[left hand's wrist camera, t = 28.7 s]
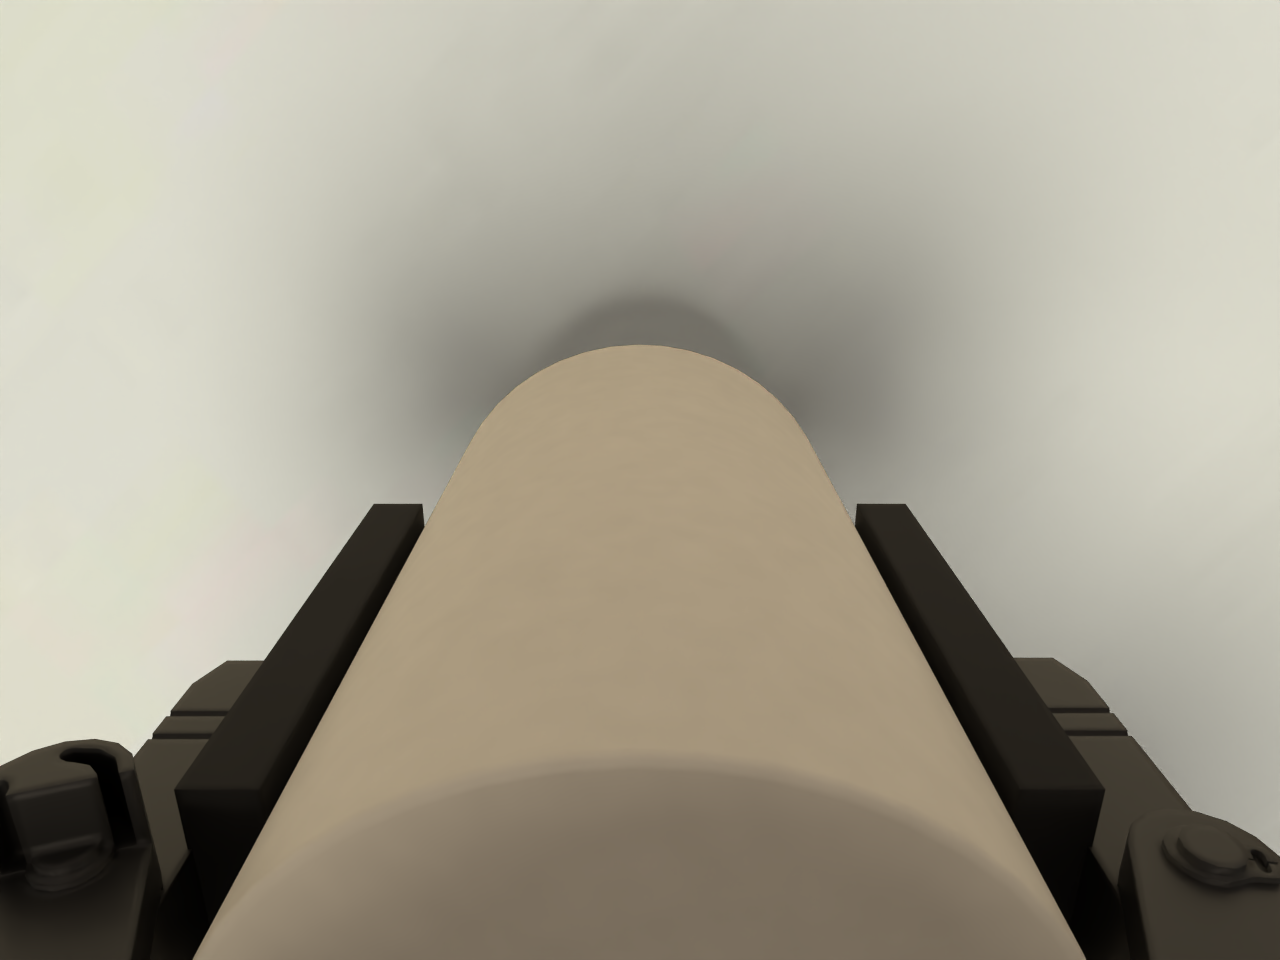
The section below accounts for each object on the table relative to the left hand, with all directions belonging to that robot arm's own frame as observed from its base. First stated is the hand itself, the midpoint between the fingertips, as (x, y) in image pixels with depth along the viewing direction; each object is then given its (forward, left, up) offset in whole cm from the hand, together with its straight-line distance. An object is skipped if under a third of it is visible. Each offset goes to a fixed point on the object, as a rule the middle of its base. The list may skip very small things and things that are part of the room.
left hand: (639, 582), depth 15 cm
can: (0, 0, -2) cm, 2 cm away
